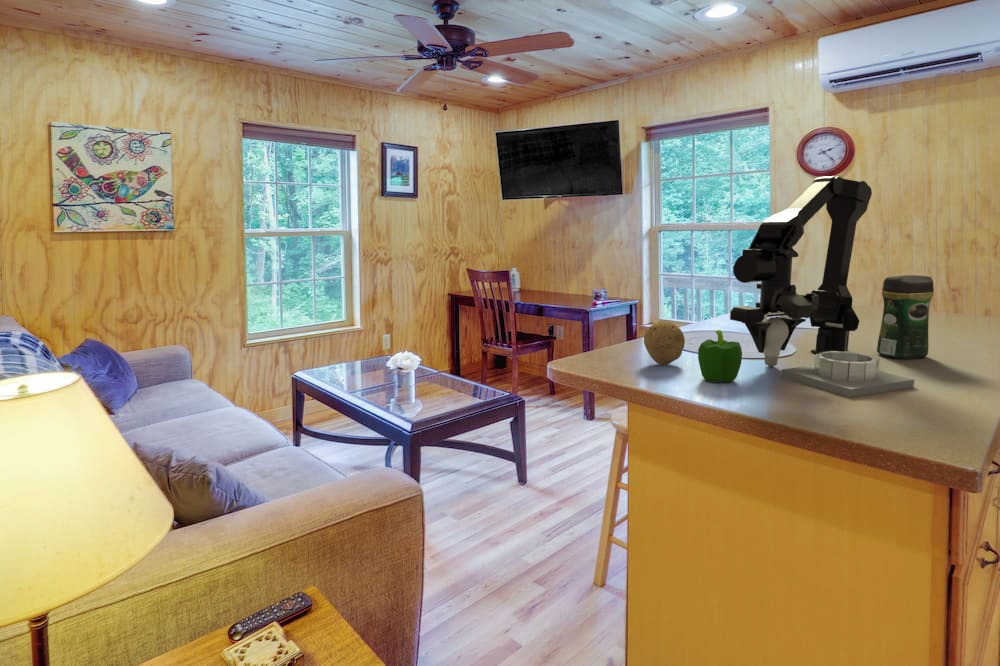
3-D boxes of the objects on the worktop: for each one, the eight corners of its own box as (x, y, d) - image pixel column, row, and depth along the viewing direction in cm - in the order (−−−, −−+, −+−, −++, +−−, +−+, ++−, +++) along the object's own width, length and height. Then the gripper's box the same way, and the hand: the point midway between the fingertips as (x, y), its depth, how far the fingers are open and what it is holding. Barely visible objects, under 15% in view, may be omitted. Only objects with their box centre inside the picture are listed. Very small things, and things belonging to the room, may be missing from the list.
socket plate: (840, 368, 127) (840, 361, 126) (913, 387, 112) (914, 379, 112) (781, 376, 121) (781, 369, 121) (849, 397, 107) (850, 389, 106)
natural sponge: (652, 358, 140) (653, 316, 139) (690, 362, 135) (691, 319, 134) (637, 366, 133) (638, 322, 131) (676, 371, 128) (678, 325, 126)
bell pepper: (736, 388, 114) (739, 337, 113) (693, 382, 119) (694, 333, 117) (744, 377, 121) (746, 329, 120) (703, 373, 126) (704, 327, 124)
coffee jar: (906, 351, 141) (914, 273, 138) (934, 358, 133) (943, 275, 130) (869, 353, 140) (876, 274, 136) (895, 360, 132) (903, 277, 129)
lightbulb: (789, 371, 126) (793, 319, 124) (758, 370, 127) (761, 319, 125) (782, 364, 132) (785, 315, 130) (752, 363, 133) (755, 315, 131)
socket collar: (842, 365, 123) (843, 349, 122) (889, 377, 113) (891, 359, 113) (802, 371, 120) (804, 354, 119) (848, 383, 110) (850, 365, 109)
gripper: (769, 285, 115) (765, 363, 118) (842, 280, 121) (836, 354, 124) (729, 280, 126) (726, 352, 128) (798, 276, 132) (793, 344, 134)
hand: (771, 351), depth 129 cm, fingers closed on lightbulb, 5 cm apart
